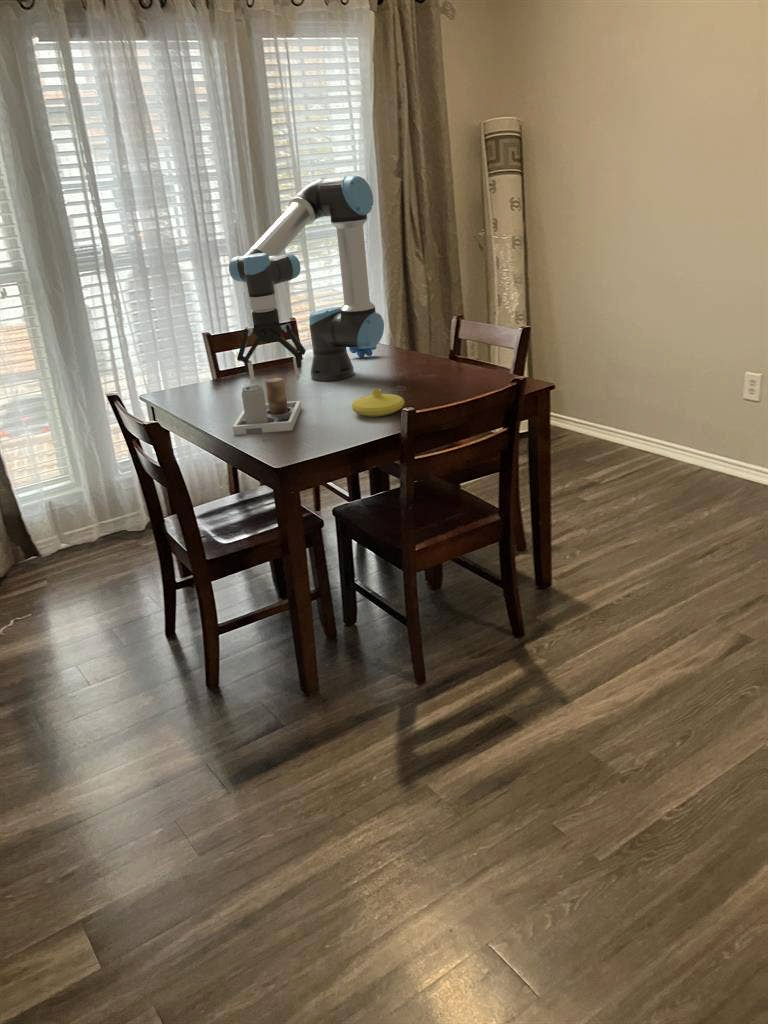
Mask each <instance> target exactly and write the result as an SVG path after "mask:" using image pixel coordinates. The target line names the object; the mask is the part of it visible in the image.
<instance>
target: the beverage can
mask: <svg viewBox="0 0 768 1024" xmlns="http://www.w3.org/2000/svg"><path fill="white" fill-rule="evenodd" d="M265 397H266V396H265V392H264V389H263V386H262V385H259V384H258V385H257V384H251V385H246V386H244V387H242V388H241V399H242V405H243V409H244V413H245V419H246V425H248V424H260V423H269V422H268V418H267V411H266V404H267V403H266V399H265Z"/></svg>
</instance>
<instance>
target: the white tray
mask: <svg viewBox="0 0 768 1024" xmlns="http://www.w3.org/2000/svg"><path fill="white" fill-rule="evenodd" d="M265 404H266V411H267V418H268V423H260V424H248V425H246V419H245V413H244V408H243V410H242V411H241V413H240V414H239V416H238V417H237V419H236V421H235V422H234V423H233V424H232V432H233V435H234V436H239V435H250V434H262V433H277V432H290V431H293V430H294V428H295V425H296V424H297V423H296V422H297V420H298V417H299V415H300V413H301V410H302V405H301V400H294V401H293V400H292V401H287V406H288V412H287V413H284V414H277V415H271V414H270V411H269V404H268V403H265ZM287 419H288V420H287ZM283 420H284V421H283ZM286 420H287V421H286Z"/></svg>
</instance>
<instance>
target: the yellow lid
mask: <svg viewBox="0 0 768 1024" xmlns="http://www.w3.org/2000/svg"><path fill="white" fill-rule="evenodd" d="M404 406H405V400H404V398H403V397H402V396H400V395H397V394H391V393H382V391H381V389H380V388H374V389H373V390H372V394H371V395H365V396H361V397H359V398H357V399H355V400H354V401H353V403H352V404H351V409H352V411H353V412H354V413H355V414H359V415H361V416H363V417H364V416H365V417H383V416H389V415H391V414H394V413H396V412H397V411H399V410H401V409H402V408H403V407H404Z"/></svg>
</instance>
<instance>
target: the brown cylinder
mask: <svg viewBox="0 0 768 1024" xmlns="http://www.w3.org/2000/svg"><path fill="white" fill-rule="evenodd" d="M264 383H265V389H266V396H267V404H269V411H270V414H271V415H277V414H284V413H287V412H288V406H287V402H288V399H287V393H286V385H285V379H284V378H281V377H275V378H270V379H266V380H265V381H264Z"/></svg>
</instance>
